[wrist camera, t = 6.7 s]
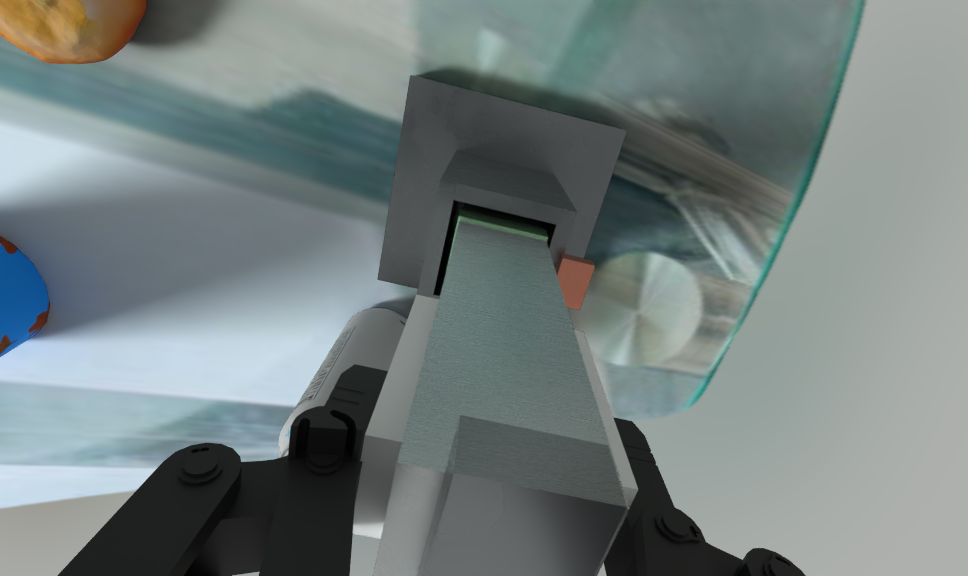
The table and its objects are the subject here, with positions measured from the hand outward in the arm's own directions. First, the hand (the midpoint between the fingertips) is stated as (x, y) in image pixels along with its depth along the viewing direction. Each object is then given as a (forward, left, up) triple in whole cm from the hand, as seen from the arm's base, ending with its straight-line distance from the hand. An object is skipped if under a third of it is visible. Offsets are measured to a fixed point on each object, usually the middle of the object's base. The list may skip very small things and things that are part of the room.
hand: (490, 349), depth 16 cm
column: (0, 0, -12) cm, 12 cm away
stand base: (0, 0, -21) cm, 21 cm away
